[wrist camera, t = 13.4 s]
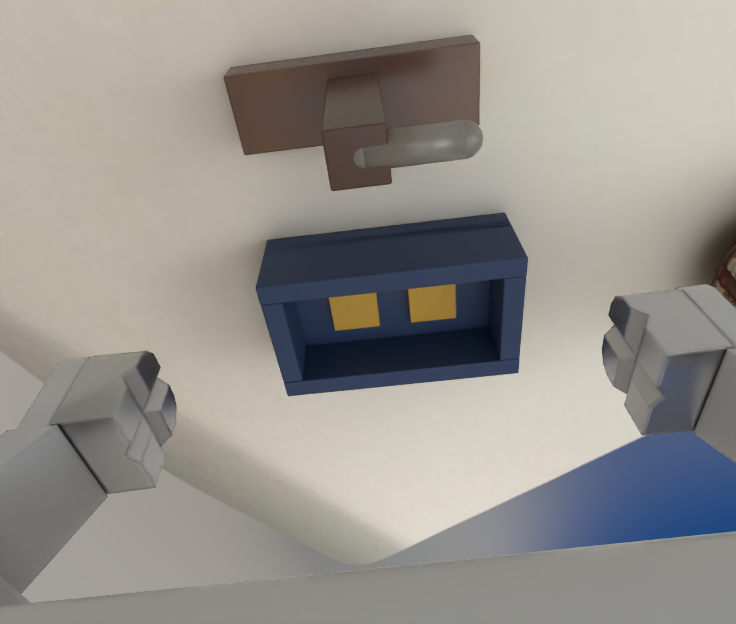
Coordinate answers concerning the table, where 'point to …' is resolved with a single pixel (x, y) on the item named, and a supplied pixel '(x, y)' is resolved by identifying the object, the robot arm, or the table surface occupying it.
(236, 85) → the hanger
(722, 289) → the grenade
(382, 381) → the token holder
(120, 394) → the robot arm
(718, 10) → the table surface
